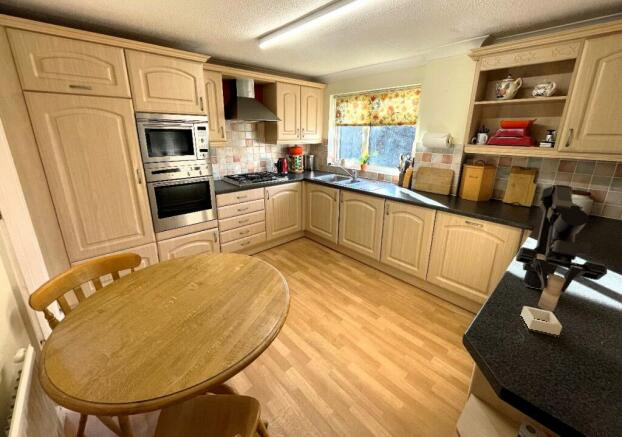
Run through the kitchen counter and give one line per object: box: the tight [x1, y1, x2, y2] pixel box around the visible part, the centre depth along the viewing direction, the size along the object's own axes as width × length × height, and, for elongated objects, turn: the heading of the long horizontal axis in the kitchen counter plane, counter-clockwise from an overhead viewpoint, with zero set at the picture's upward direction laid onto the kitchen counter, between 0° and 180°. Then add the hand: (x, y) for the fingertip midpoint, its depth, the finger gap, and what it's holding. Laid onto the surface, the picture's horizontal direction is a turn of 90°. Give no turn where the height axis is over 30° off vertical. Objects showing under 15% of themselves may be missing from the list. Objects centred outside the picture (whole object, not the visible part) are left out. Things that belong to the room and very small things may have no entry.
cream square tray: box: [520, 305, 563, 336], centre depth 79 cm, size 7×7×4 cm
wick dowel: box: [537, 273, 566, 312], centre depth 76 cm, size 4×4×10 cm
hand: (553, 289), depth 74 cm, fingers closed on wick dowel, 4 cm apart
